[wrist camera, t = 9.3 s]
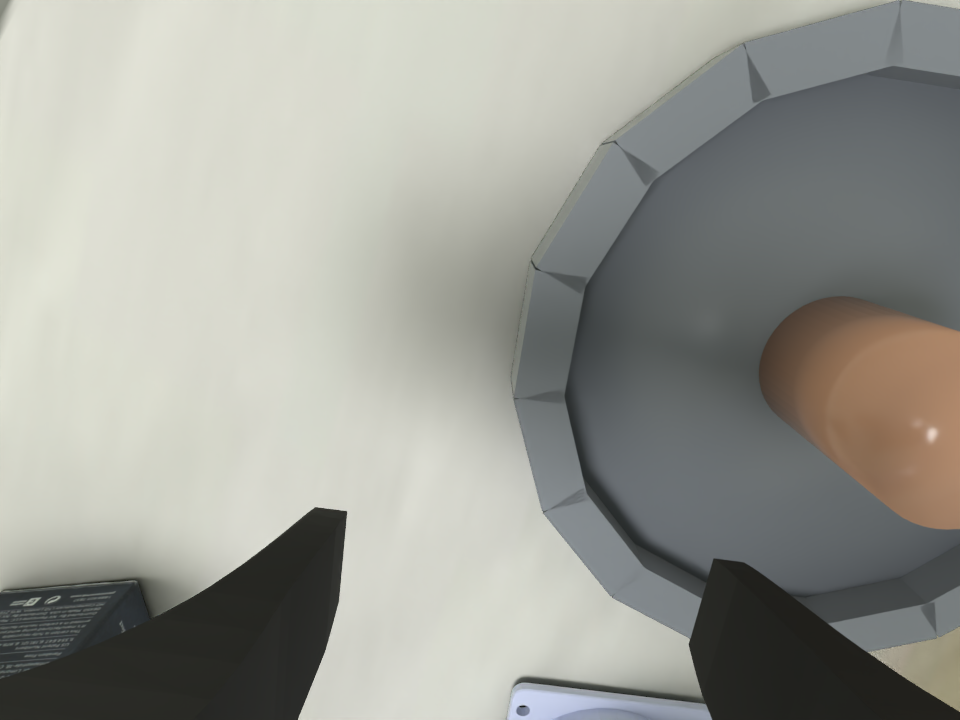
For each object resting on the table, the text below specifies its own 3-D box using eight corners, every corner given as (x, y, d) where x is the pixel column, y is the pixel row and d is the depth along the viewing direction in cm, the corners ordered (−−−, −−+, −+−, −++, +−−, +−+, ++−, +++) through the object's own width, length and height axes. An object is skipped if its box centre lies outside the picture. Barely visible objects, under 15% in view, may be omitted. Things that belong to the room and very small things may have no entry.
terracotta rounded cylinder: (875, 439, 21) (1025, 540, 15) (742, 420, 21) (843, 516, 15) (921, 307, 19) (1105, 362, 14) (781, 286, 19) (907, 334, 14)
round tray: (997, 647, 24) (1042, 688, 22) (477, 582, 23) (476, 619, 21) (1255, 83, 18) (1346, 72, 16) (577, -27, 17) (589, -52, 16)
